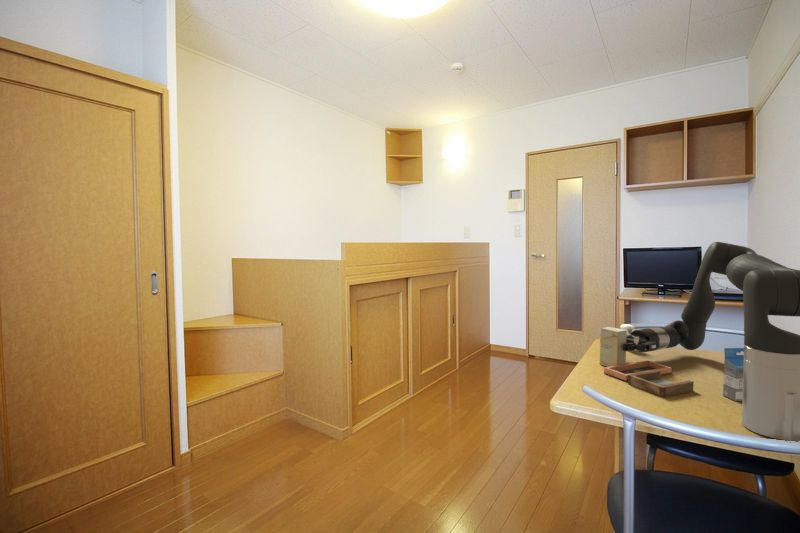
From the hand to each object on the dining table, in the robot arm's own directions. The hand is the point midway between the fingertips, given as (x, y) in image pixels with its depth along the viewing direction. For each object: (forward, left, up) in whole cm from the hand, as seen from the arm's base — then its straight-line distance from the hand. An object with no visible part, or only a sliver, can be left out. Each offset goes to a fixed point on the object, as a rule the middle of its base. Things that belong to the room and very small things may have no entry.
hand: (612, 344), depth 120 cm
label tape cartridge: (-31, -9, -7) cm, 33 cm away
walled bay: (-18, +3, -7) cm, 19 cm away
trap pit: (-8, -1, -7) cm, 11 cm away
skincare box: (0, 0, -7) cm, 7 cm away
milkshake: (+13, -22, -7) cm, 27 cm away
